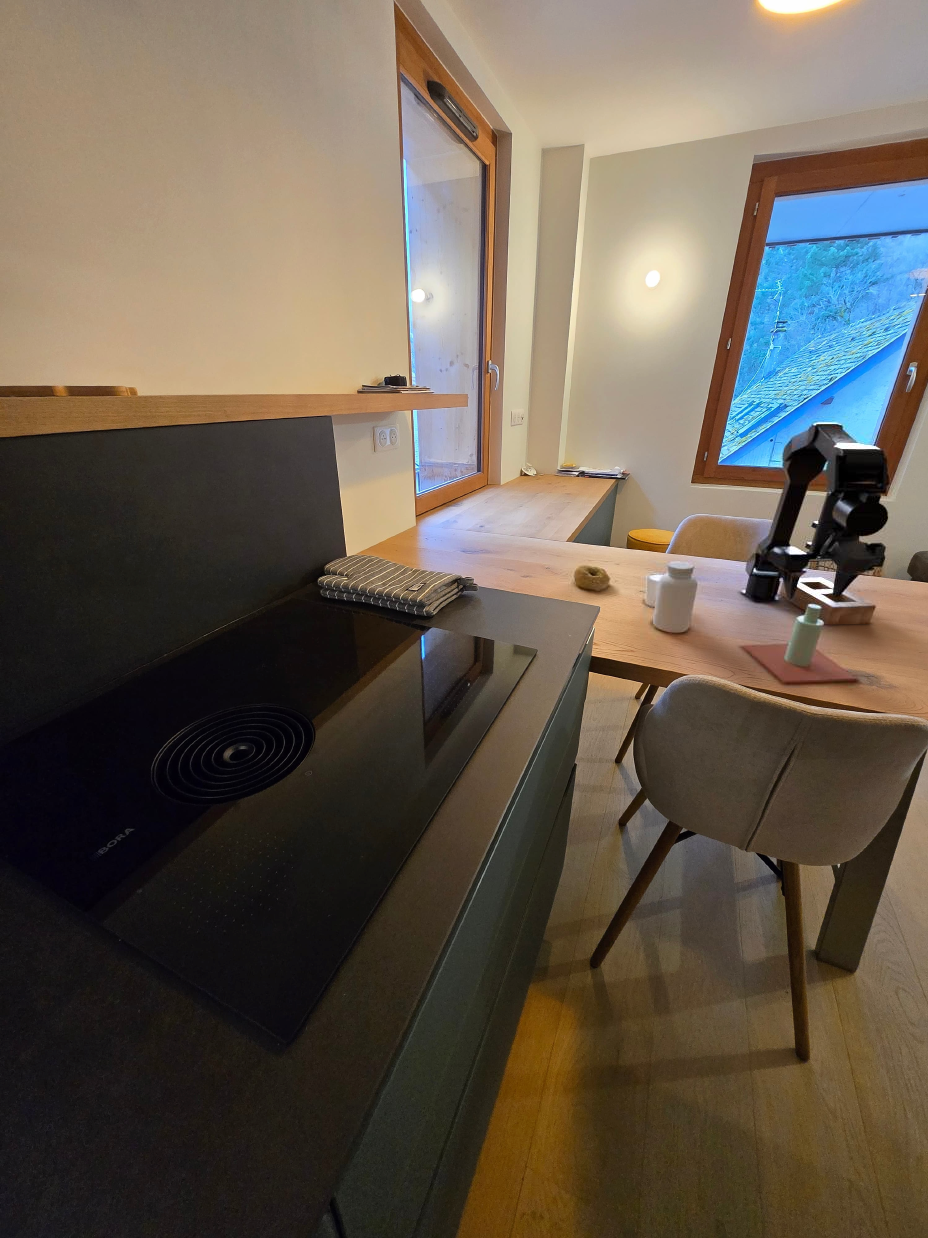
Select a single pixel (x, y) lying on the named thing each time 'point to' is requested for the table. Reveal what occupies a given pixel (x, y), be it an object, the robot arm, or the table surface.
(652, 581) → the white short cylinder
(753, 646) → the mat
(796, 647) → the bottle
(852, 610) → the holder
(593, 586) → the bagel
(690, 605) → the pill bottle
